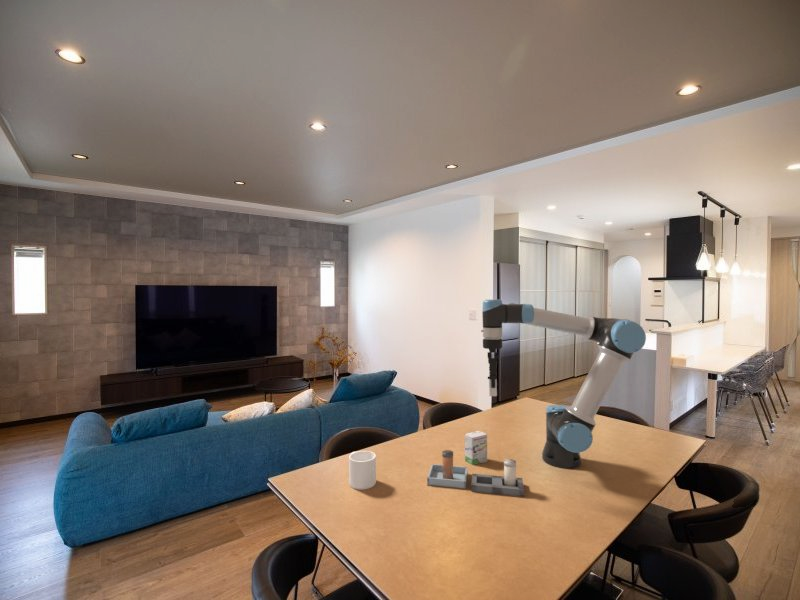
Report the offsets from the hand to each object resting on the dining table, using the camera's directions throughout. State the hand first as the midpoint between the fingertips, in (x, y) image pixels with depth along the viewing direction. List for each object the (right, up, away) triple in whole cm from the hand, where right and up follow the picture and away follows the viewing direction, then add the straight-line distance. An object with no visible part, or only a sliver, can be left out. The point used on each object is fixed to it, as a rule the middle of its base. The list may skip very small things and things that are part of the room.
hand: (492, 391), depth 152 cm
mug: (-52, -33, -8) cm, 62 cm away
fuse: (+3, -31, -15) cm, 35 cm away
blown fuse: (-19, -31, -7) cm, 37 cm away
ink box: (-5, -32, +9) cm, 34 cm away
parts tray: (-19, -32, -7) cm, 38 cm away
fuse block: (-2, -32, -14) cm, 35 cm away
